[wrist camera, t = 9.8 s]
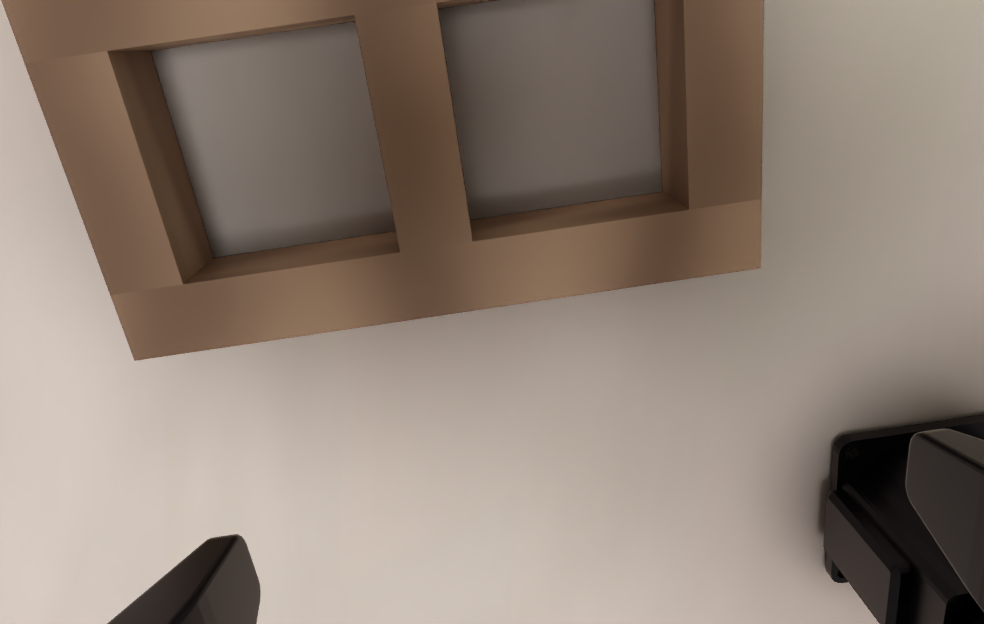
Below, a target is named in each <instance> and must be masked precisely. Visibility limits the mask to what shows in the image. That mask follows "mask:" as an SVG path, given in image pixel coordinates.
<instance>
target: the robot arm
mask: <svg viewBox="0 0 984 624" xmlns="http://www.w3.org/2000/svg"><path fill="white" fill-rule="evenodd" d="M851 447H853V449H852V450H851V451H850V452H847V453H846V451H847V450H848V449H849V448H851ZM824 550H825V551H826V552H827V553H826V571H827V573H828V574H829V575H830V577H831V578H832V579H833V580H834V581H835V582H837V583H845V582H849V583H850V585H851V586H852V587H853V589H854V590H855V591H856V593H857V594H858V595H859V597H860V598H861V599H862V601H863V602H864V603H865V605H866V606H867V607H868V609H869V610H870V611H871V613H872V614H873V615H874V617H875V618H876V619H877V621H878V622H879V623H880V624H984V415H979V416H972V417H965V418H958V419H952V420H945V421H938V422H931V423H925V424H918V425H911V426H905V427H898V428H891V429H884V430H878V431H871V432H864V433H858V434H851V435H846V436H843V437H841V438H839V439H838V440H837V441H836V442H835V444H834V447H833V455H832V471H831V488H830V492H829V494H828V496H827V498H826V514H825V531H824ZM259 604H260V584H259V580H258V577H257V574H256V571H255V568H254V565H253V562H252V559H251V556H250V553H249V550H248V547H247V544H246V542H245V540H244V539H243V537H242V536H240V535H238V534H234V535H228V536H221V537H214V538H210V539H208V540H207V541H205V542H204V543H203V544H202V545H200V546H199V547H198V548H197V549H196V550H195V551H193V552H192V553H191V554H190V555H189V556H187V557H186V558H185V559H184V560H183V561H181V562H180V563H179V564H178V565H177V566H175V567H174V568H173V569H172V570H171V571H170V572H168V573H167V574H166V575H165V576H164V577H162V578H161V579H160V580H159V581H158V582H156V583H155V584H154V585H153V586H152V587H150V588H149V589H148V590H147V591H146V592H145V593H143V594H142V595H141V596H140V597H139V598H137V599H136V600H135V601H134V602H133V603H131V604H130V605H129V606H128V607H127V608H125V609H124V610H123V611H122V612H121V613H120V614H118V615H117V616H116V617H115V618H114V619H112V620H111V621H110V622H109V623H108V624H256V622H257V616H258V610H259Z"/></svg>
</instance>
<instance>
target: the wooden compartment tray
mask: <svg viewBox="0 0 984 624" xmlns="http://www.w3.org/2000/svg"><path fill="white" fill-rule="evenodd" d="M1 1H2V3H3V6H4V9H5V11H6V14H7V17H8V20H9V22H10V25H11V28H12V30H13V33H14V36H15V38H16V41H17V44H18V47H19V49H20V52H21V55H22V57H23V60H24V63H25V65H26V68H27V71H28V74H29V76H30V79H31V82H32V84H33V87H34V90H35V93H36V95H37V98H38V101H39V103H40V106H41V109H42V111H43V114H44V117H45V120H46V122H47V125H48V128H49V130H50V133H51V136H52V138H53V141H54V144H55V147H56V149H57V152H58V155H59V157H60V160H61V163H62V166H63V168H64V171H65V174H66V176H67V179H68V182H69V184H70V187H71V190H72V193H73V195H74V198H75V201H76V203H77V206H78V209H79V211H80V214H81V217H82V220H83V222H84V225H85V228H86V230H87V233H88V236H89V239H90V241H91V244H92V247H93V249H94V252H95V255H96V257H97V260H98V263H99V266H100V268H101V271H102V274H103V276H104V279H105V282H106V284H107V287H108V290H109V293H110V295H111V298H112V301H113V303H114V306H115V309H116V312H117V314H118V317H119V320H120V322H121V325H122V328H123V330H124V333H125V336H126V339H127V341H128V344H129V347H130V349H131V352H132V355H133V357H134V360H142V359H149V358H155V357H162V356H169V355H176V354H182V353H189V352H196V351H203V350H210V349H216V348H223V347H230V346H237V345H243V344H250V343H257V342H264V341H270V340H277V339H284V338H291V337H297V336H304V335H311V334H318V333H325V332H331V331H338V330H345V329H352V328H358V327H365V326H372V325H379V324H385V323H392V322H399V321H406V320H412V319H419V318H426V317H433V316H439V315H446V314H453V313H460V312H467V311H473V310H480V309H487V308H494V307H500V306H507V305H514V304H521V303H527V302H534V301H541V300H548V299H554V298H561V297H568V296H575V295H581V294H588V293H595V292H602V291H609V290H615V289H622V288H629V287H636V286H642V285H649V284H656V283H663V282H669V281H676V280H683V279H690V278H696V277H703V276H710V275H717V274H723V273H730V272H737V271H744V270H751V269H757V268H761V191H762V113H763V34H764V0H654V1H655V25H656V49H657V72H658V96H659V120H660V143H661V167H662V191H663V192H658V193H651V194H644V195H638V196H631V197H624V198H617V199H610V200H604V201H597V202H590V203H583V204H576V205H570V206H563V207H556V208H549V209H543V210H536V211H529V212H522V213H515V214H509V215H502V216H495V217H488V218H482V219H475V220H470V216H469V209H468V203H467V196H466V189H465V183H464V176H463V170H462V163H461V156H460V150H459V143H458V137H457V130H456V123H455V117H454V110H453V103H452V97H451V90H450V84H449V77H448V70H447V64H446V57H445V51H444V44H443V37H442V31H441V24H440V18H439V11H438V9H440V8H447V7H454V6H461V5H467V4H474V3H481V2H488V1H495V0H1ZM351 21H355V22H356V27H357V32H358V38H359V43H360V48H361V53H362V58H363V63H364V68H365V74H366V79H367V84H368V89H369V94H370V99H371V104H372V110H373V115H374V120H375V125H376V130H377V135H378V141H379V146H380V151H381V156H382V161H383V166H384V171H385V177H386V182H387V187H388V192H389V197H390V202H391V207H392V213H393V218H394V223H395V228H396V231H393V232H387V233H380V234H373V235H366V236H359V237H353V238H346V239H339V240H332V241H326V242H319V243H312V244H305V245H298V246H292V247H285V248H278V249H271V250H265V251H258V252H251V253H244V254H237V255H231V256H224V257H217V258H213V256H212V253H211V249H210V246H209V243H208V239H207V236H206V233H205V230H204V226H203V223H202V220H201V216H200V213H199V210H198V206H197V203H196V200H195V197H194V193H193V190H192V187H191V183H190V180H189V177H188V173H187V170H186V167H185V164H184V160H183V157H182V154H181V150H180V147H179V144H178V140H177V137H176V134H175V130H174V127H173V124H172V121H171V117H170V114H169V111H168V107H167V104H166V101H165V97H164V94H163V91H162V88H161V84H160V81H159V78H158V74H157V71H156V68H155V64H154V61H153V58H152V55H151V51H153V50H160V49H167V48H174V47H181V46H187V45H194V44H201V43H208V42H215V41H222V40H228V39H235V38H242V37H249V36H256V35H263V34H269V33H276V32H283V31H290V30H297V29H304V28H310V27H317V26H324V25H331V24H338V23H345V22H351Z"/></svg>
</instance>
